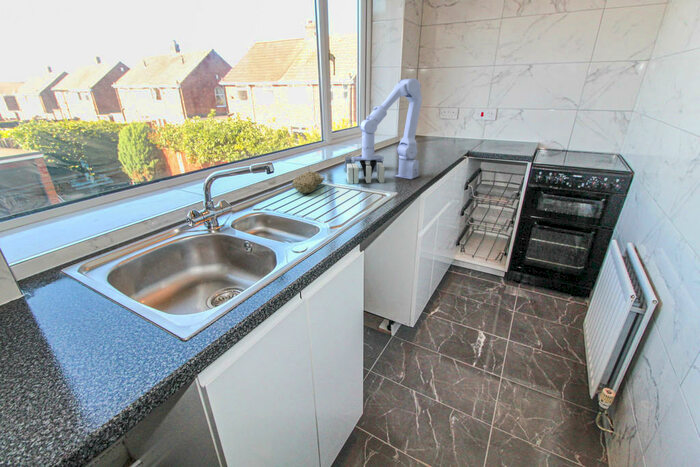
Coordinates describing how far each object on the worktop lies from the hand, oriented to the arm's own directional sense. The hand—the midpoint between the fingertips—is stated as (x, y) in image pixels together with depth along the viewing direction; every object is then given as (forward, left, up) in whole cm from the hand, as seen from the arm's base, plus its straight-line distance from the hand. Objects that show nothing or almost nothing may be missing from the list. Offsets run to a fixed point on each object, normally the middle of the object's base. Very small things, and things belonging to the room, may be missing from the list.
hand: (367, 176), depth 156 cm
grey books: (+15, -18, -2) cm, 24 cm away
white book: (0, 0, -2) cm, 2 cm away
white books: (+1, +1, -2) cm, 2 cm away
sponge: (+12, +27, -2) cm, 30 cm away
